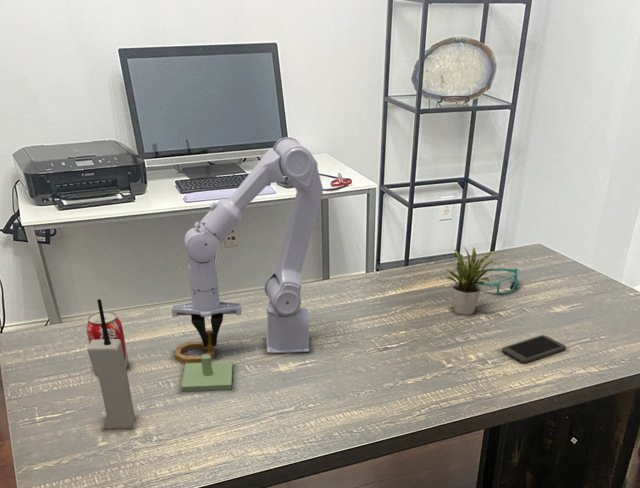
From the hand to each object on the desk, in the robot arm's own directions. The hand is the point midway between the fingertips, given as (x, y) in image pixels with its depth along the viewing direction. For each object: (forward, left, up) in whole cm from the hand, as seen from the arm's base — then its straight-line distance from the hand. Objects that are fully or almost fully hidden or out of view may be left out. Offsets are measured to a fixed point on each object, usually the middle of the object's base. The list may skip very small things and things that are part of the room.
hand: (210, 344), depth 150 cm
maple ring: (+4, 0, -2) cm, 4 cm away
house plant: (-64, -19, -3) cm, 67 cm away
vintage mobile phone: (+16, +27, -3) cm, 31 cm away
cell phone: (-73, +4, -2) cm, 74 cm away
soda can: (+21, +5, -3) cm, 21 cm away
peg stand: (0, +11, -2) cm, 11 cm away
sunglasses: (-75, -36, -3) cm, 84 cm away
